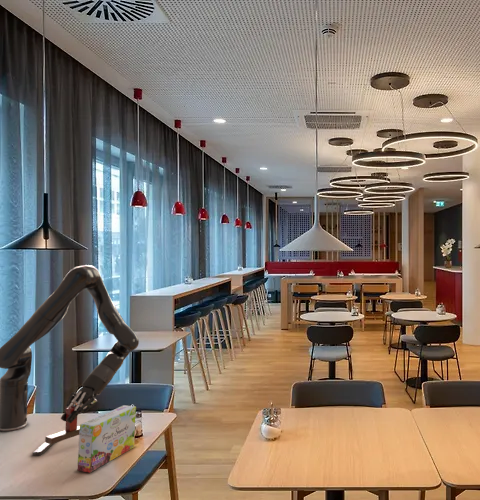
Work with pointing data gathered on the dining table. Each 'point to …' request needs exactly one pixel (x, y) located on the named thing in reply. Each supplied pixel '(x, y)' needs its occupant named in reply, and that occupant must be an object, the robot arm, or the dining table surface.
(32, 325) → the robot arm
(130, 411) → the snack box
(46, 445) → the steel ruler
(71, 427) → the stamp
